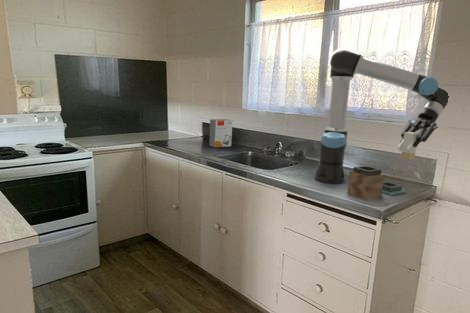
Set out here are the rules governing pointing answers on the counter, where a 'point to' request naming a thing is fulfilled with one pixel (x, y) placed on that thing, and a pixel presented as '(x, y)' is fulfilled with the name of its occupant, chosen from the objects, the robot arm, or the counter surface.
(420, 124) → the robot arm
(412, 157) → the plug
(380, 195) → the wooden planter box
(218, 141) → the hard drive box
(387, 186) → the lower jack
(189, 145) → the counter surface
